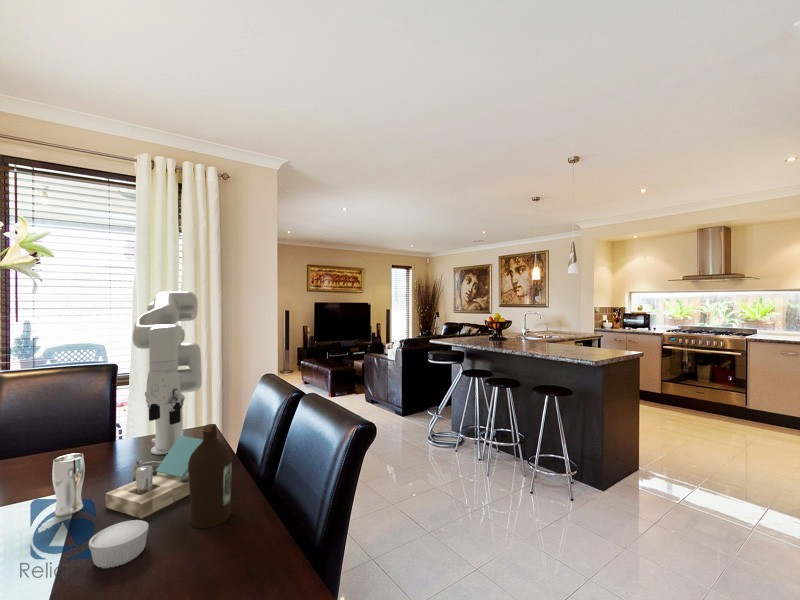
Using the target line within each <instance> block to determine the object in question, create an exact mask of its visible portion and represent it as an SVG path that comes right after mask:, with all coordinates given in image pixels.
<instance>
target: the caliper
mask: <svg viewBox="0 0 800 600" xmlns="http://www.w3.org/2000/svg"><path fill="white" fill-rule="evenodd" d="M162 461H163V460H162ZM162 461H161V460H160V461H157V460H153V461H147V462H143V460H136V462H135V464H133V467H132V475H131V477H132V480H133V481H136V469H137V468H139V467H142V466H148V465H150V466H152V470H154V471H156V470H157V468H158V467H159V465H160V464H161V462H162Z"/></svg>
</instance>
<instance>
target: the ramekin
mask: <svg viewBox="0 0 800 600" xmlns="http://www.w3.org/2000/svg"><path fill="white" fill-rule="evenodd" d="M149 529H150V526H149V523H148V522H147V521H145V520H140V519H134V520H133V519H132V520H126V521H122V522H118V523H114V524H113V525H110V526H108V527H106V528H104V529H102V530H99V531H98V532H97V533H95V534H94V535H93V536H92V537H91V538H90V539H89V541H88V548H89V550H90V553H91V557H92V561H93V564H94V566H96V567H98V568H100V567H101V568H100V569H111V568H114V567H115V566H116V567H119V565H120V566H122V565H125V564H127V563H128V562H131V561H133V560H134V559H136V558H137V557H138V556H139V555H141V553H142V552H143V551H144V549H145V547H146V543H147V536H148V533H149V531H150V530H149ZM110 567H111V568H110ZM116 567H115V568H116Z"/></svg>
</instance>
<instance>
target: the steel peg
mask: <svg viewBox="0 0 800 600" xmlns="http://www.w3.org/2000/svg"><path fill="white" fill-rule="evenodd" d="M135 481H136V494H138V495H143V494H145V493H147V492H149V491H152V490H153V483H152V466H150V465H148V466H142V467H139V468H137V469H136V480H135Z"/></svg>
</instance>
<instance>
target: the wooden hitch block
mask: <svg viewBox="0 0 800 600" xmlns="http://www.w3.org/2000/svg"><path fill="white" fill-rule="evenodd" d="M152 483H153V490H152V491H149V492H147V493H145V494H143V495H138V494H136V480H133V481H131V482H129V483H127V484H125V485H123V486H120V487H118V488H115V489H113V490H110V491H108V492H106V493H105V508H106V509H110V510H112V511H113V510H114V511H117V512H120V513H123V514H126V515H129V516H132V517H136V518H139V519H144V518H146V517H147V516H150V515H151V514H154V513H156V512H158V511H159V510H162V509H163V508H165V507H168V506H169V505H172V504H173V503H176V502H177V501H180V500H181V499H183V498H185V497H187V496H190V488H189V474H188V472H187V474H186V476H185V477H182V478H181V477H176V476H172V475H168V474H163V473H159V472H157V471H156V470H152Z"/></svg>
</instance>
